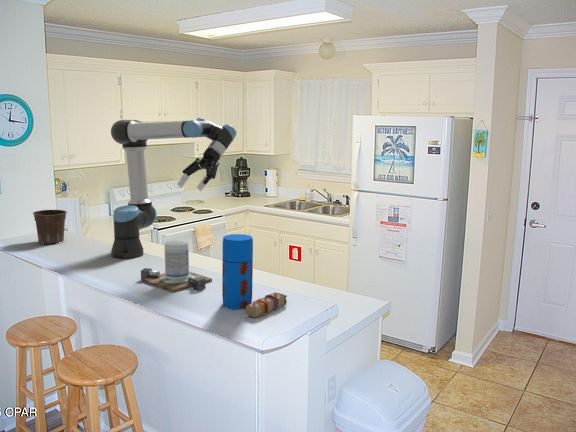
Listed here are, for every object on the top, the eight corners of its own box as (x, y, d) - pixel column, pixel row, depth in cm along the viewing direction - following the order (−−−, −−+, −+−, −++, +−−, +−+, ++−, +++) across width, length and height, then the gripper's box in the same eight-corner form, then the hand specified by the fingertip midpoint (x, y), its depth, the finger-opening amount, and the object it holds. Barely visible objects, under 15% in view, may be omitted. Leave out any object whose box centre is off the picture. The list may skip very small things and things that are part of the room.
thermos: (218, 301, 192) (219, 235, 187) (246, 297, 196) (247, 233, 192) (227, 311, 182) (227, 241, 178) (256, 307, 186) (257, 239, 182)
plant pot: (75, 240, 279) (73, 211, 277) (51, 247, 265) (50, 215, 262) (51, 237, 285) (50, 208, 282) (27, 243, 270) (25, 213, 267)
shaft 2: (186, 286, 207) (185, 277, 207) (193, 284, 210) (193, 275, 210) (197, 290, 203) (197, 280, 202) (205, 288, 206) (205, 278, 205)
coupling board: (142, 281, 212) (142, 278, 212) (181, 271, 228) (181, 268, 227) (172, 292, 200) (172, 288, 200) (212, 281, 215) (212, 277, 215)
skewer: (258, 320, 175) (258, 306, 174) (243, 316, 178) (243, 302, 178) (293, 304, 191) (293, 291, 191) (279, 300, 195) (279, 287, 194)
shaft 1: (160, 278, 217) (160, 269, 216) (156, 281, 213) (156, 272, 212) (145, 277, 218) (144, 268, 217) (140, 280, 214) (140, 270, 214)
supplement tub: (192, 279, 212) (192, 244, 210) (170, 282, 207) (169, 246, 205) (183, 273, 220) (183, 239, 218) (161, 276, 215) (161, 241, 213)
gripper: (237, 160, 236) (212, 195, 227) (200, 156, 251) (176, 190, 243) (228, 148, 231) (202, 184, 222) (191, 145, 246) (166, 179, 238)
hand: (188, 187), depth 232 cm, fingers open, 13 cm apart
